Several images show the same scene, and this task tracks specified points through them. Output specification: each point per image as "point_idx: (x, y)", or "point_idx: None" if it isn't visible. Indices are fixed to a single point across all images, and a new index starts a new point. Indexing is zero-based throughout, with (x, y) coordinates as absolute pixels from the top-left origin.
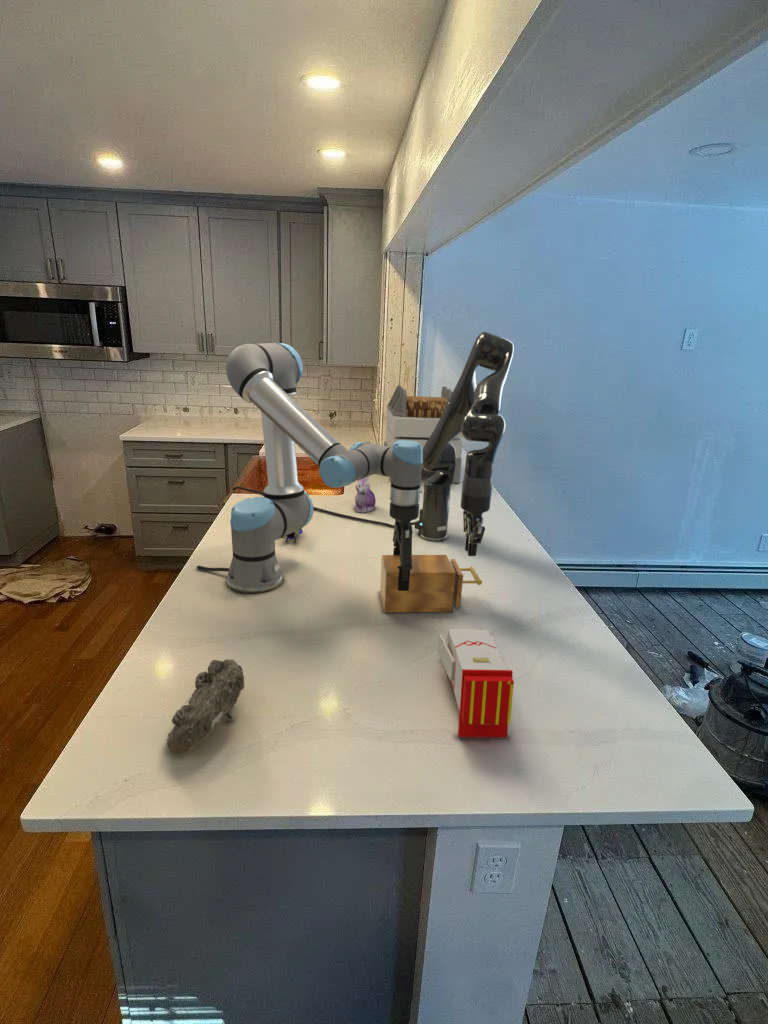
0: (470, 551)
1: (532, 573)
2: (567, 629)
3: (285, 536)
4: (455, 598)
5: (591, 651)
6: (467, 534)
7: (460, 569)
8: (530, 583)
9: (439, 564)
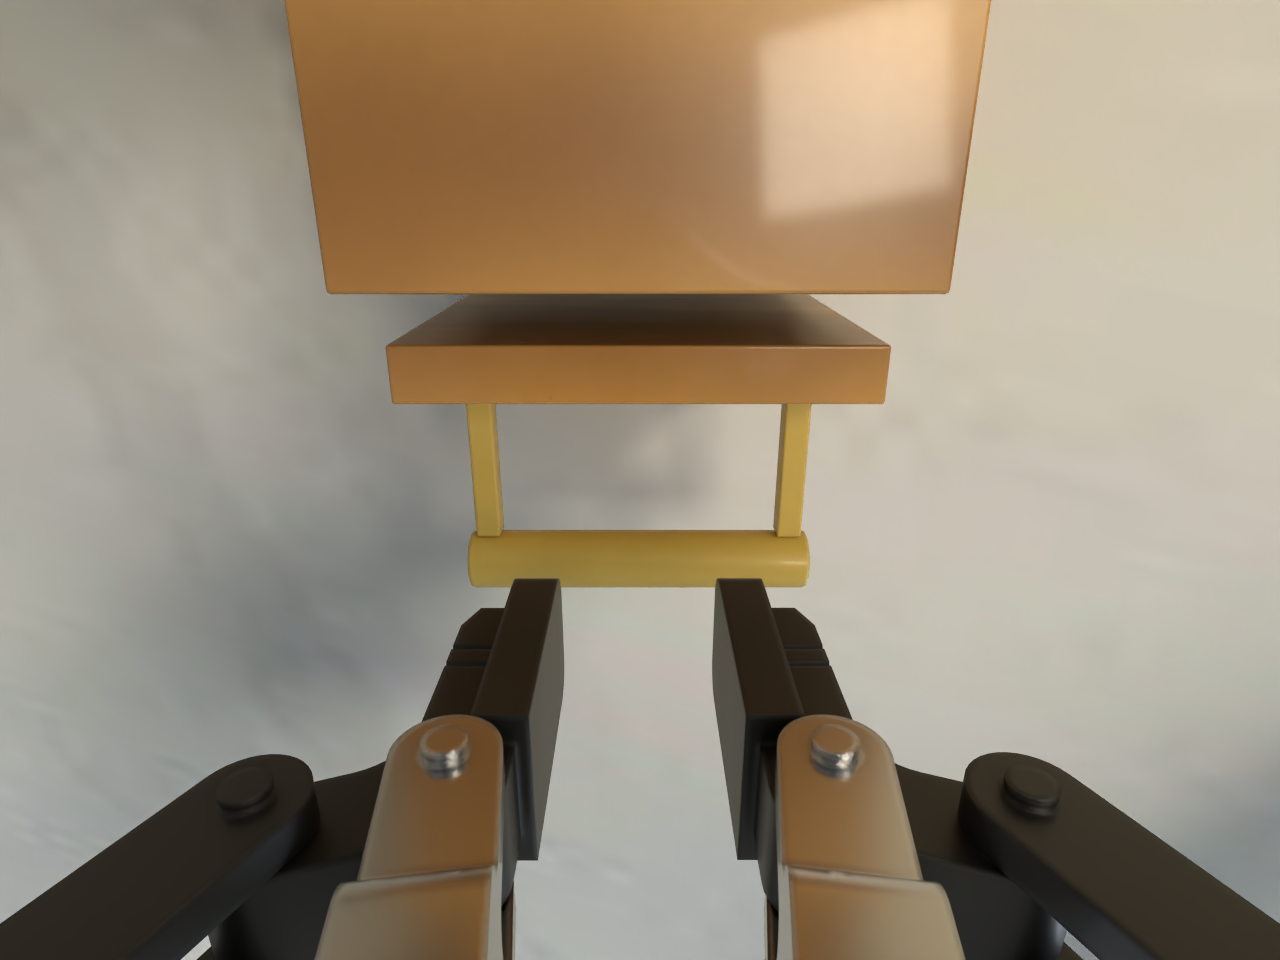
0: (473, 642)
1: None
2: None
3: None
4: (500, 296)
5: None
6: (775, 804)
7: (783, 436)
8: None
9: (594, 92)
